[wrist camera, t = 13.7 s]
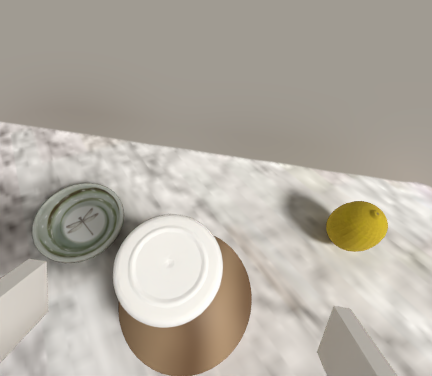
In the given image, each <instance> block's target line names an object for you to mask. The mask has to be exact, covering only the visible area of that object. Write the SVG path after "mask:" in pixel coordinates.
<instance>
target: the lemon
mask: <svg viewBox="0 0 432 376" xmlns="http://www.w3.org/2000/svg"><path fill="white" fill-rule="evenodd" d="M387 229H388V223H387V219H386V217H385V215H384V213H383V212H382V211H381V210H380V209H379V208H378V207H377V206H375V205H373V204H371V203H368V202H364V201H354V202H350V203H346V204H344V205H342V206H340V207H338V208H337V209H335V210H334V211H333V212H332V214H331V215H330V216H329V218H328V220H327V223H326V230H327V234H328V236H329V238H330V240H331V241H332V242H333V243H334V244H335V245H336V246H338V247H339V248H341V249H344V250H347V251H354V252H356V251H364V250H367V249H369V248H371V247H373V246H375V245H377V244H378V243H379V242H380V241H381V240H382V239H383V238H384V237H385V235H386V233H387Z"/></svg>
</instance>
